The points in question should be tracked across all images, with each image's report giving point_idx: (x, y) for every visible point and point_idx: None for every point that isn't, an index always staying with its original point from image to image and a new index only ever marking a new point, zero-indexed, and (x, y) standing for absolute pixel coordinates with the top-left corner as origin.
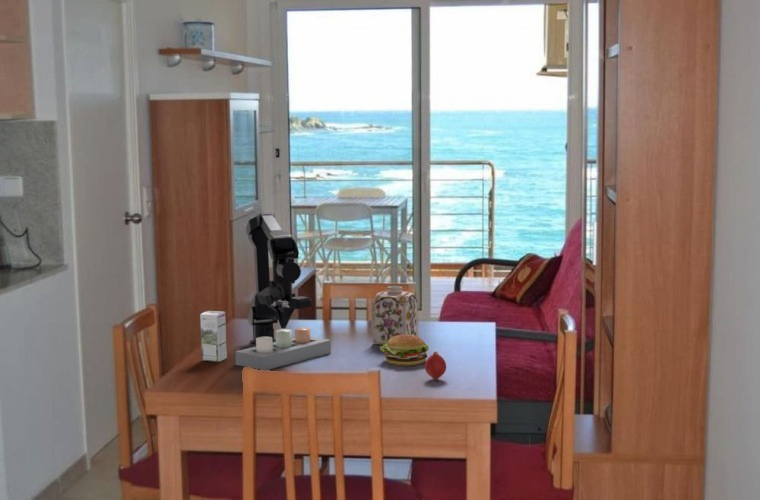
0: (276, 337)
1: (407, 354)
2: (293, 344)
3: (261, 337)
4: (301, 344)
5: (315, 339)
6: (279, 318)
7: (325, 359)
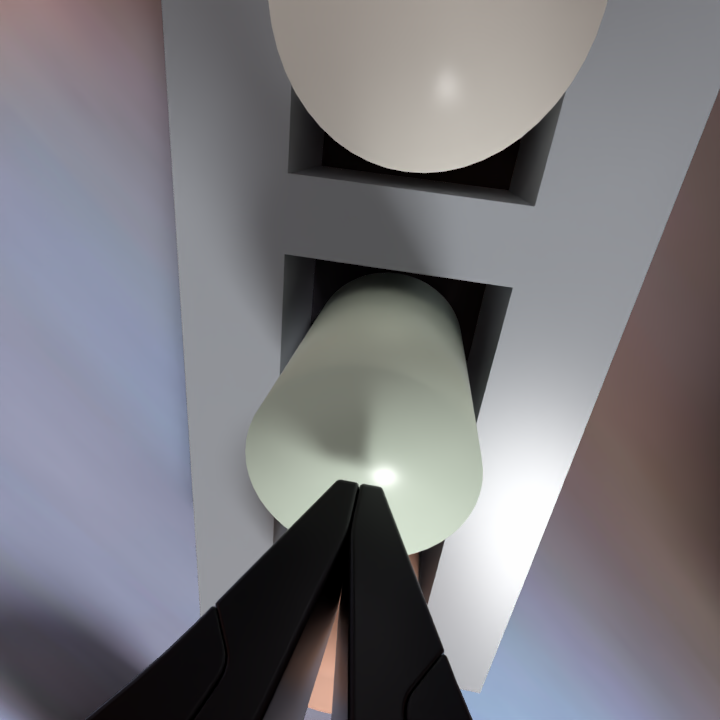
0: (423, 345)
1: None
2: None
3: (534, 30)
4: None
5: None
6: (371, 626)
7: (140, 428)
